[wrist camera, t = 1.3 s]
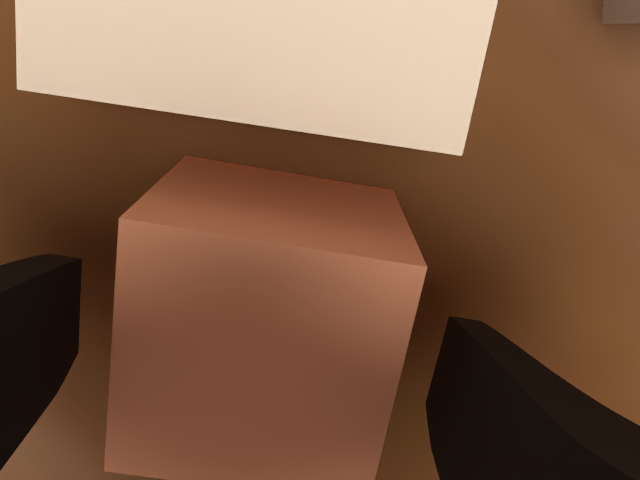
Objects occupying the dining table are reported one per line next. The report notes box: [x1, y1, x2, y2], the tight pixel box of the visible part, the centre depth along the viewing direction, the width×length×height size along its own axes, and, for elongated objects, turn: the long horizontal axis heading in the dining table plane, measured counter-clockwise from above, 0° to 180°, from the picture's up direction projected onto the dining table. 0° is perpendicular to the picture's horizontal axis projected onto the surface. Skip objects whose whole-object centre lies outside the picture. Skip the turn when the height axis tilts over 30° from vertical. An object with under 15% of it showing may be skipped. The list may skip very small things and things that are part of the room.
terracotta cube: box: [104, 156, 427, 480], centre depth 13 cm, size 5×5×5 cm
